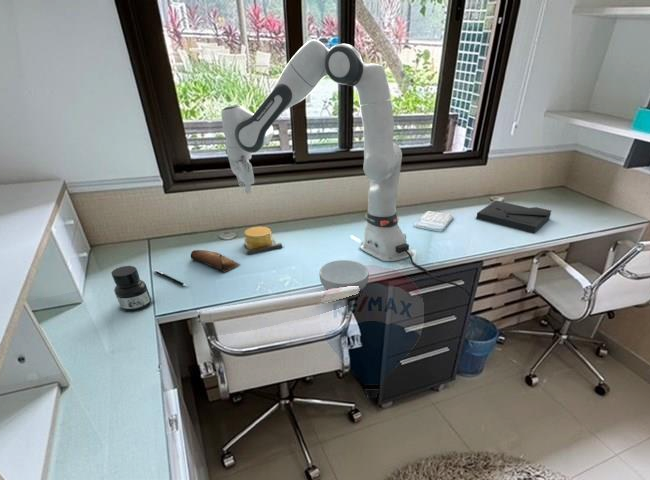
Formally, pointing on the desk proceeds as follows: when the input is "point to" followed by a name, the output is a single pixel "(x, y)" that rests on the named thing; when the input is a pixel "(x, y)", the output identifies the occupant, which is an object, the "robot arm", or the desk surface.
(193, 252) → the sunglasses case
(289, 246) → the desk surface
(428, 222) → the white folded towel
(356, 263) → the cereal bowl
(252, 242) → the glazed bowl
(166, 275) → the pen
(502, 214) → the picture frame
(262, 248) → the strip
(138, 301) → the ink bottle
